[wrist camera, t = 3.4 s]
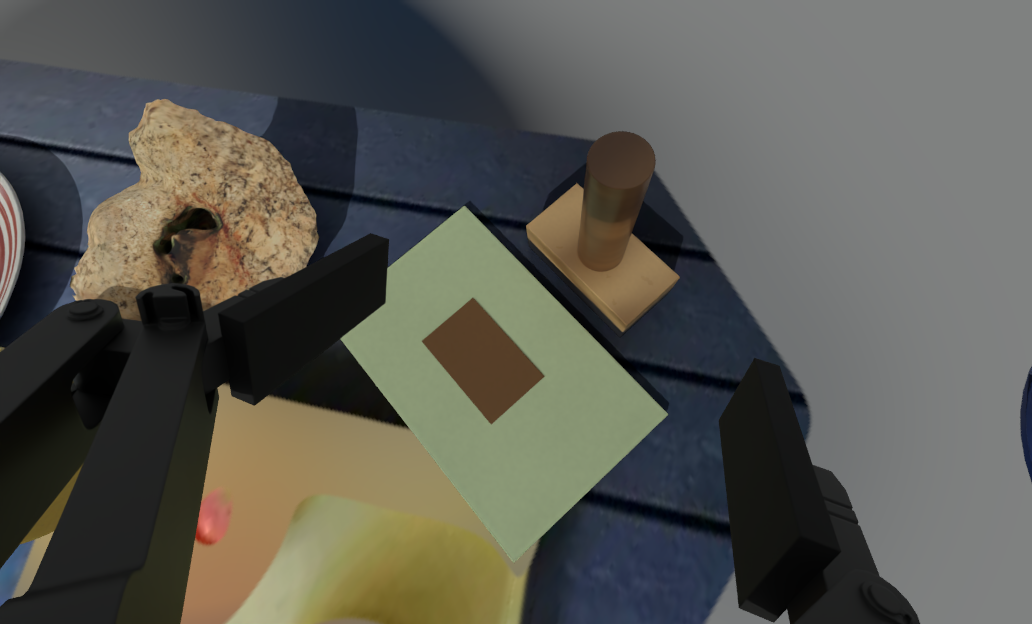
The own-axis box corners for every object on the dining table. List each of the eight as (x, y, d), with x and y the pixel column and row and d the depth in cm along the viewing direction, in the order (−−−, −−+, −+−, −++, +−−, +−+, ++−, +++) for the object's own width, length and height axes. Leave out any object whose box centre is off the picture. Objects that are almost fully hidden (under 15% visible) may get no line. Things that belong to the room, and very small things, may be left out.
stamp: (668, 293, 34) (740, 194, 21) (619, 337, 33) (662, 265, 20) (575, 206, 37) (585, 68, 23) (528, 246, 36) (512, 127, 23)
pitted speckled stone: (302, 365, 42) (259, 392, 34) (140, 315, 40) (57, 332, 33) (357, 170, 39) (324, 153, 32) (187, 111, 38) (109, 78, 30)
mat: (666, 414, 32) (668, 414, 31) (514, 561, 30) (513, 563, 29) (465, 208, 38) (464, 204, 37) (328, 320, 36) (324, 318, 35)
